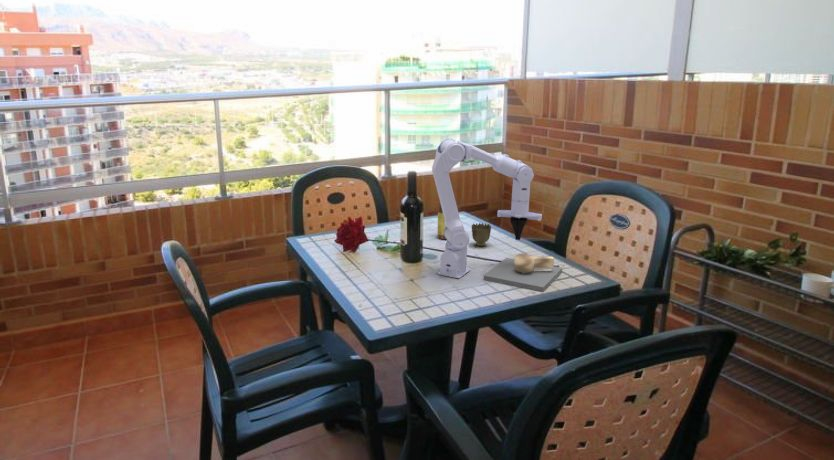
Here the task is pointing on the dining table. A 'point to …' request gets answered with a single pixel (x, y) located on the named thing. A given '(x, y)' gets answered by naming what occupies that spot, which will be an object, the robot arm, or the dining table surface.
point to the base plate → (522, 276)
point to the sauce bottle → (441, 223)
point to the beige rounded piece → (531, 262)
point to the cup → (481, 233)
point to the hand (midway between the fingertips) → (517, 239)
